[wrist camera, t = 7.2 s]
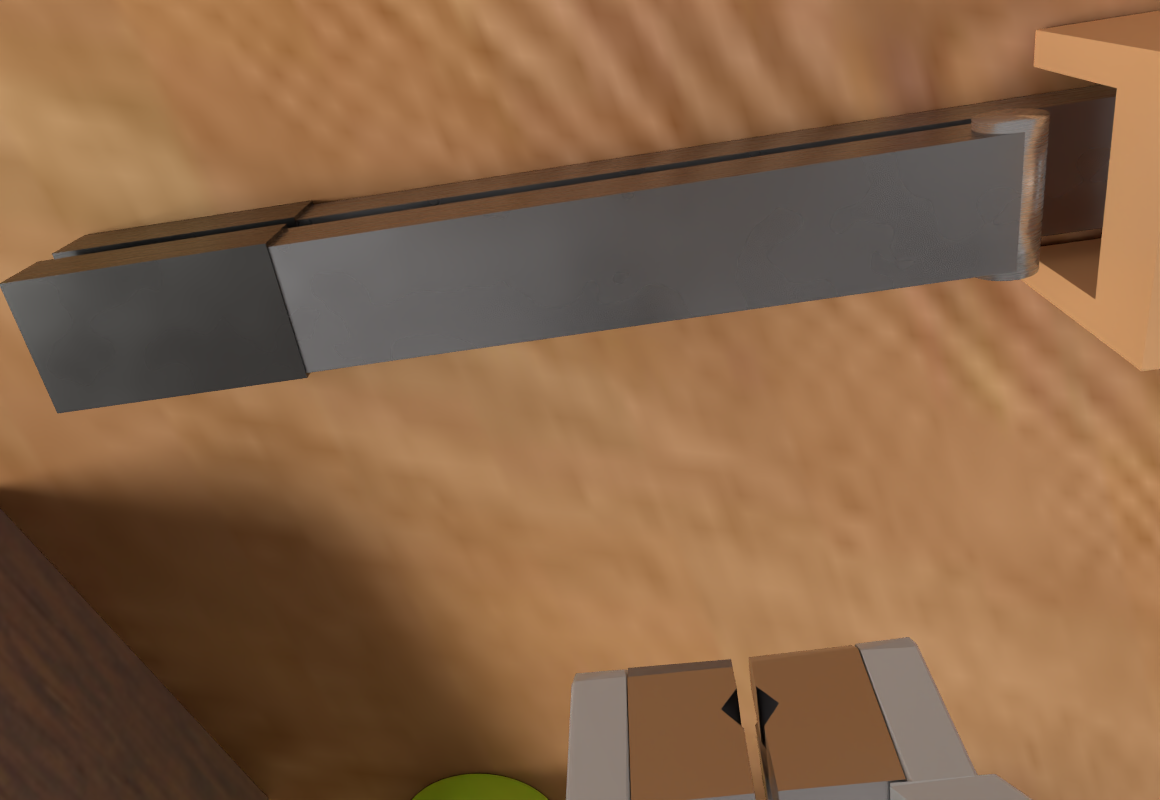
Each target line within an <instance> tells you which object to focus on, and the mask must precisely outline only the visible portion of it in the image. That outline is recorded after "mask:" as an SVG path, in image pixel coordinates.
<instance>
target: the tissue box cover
mask: <svg viewBox="0 0 1160 800" xmlns="http://www.w3.org/2000/svg"><path fill="white" fill-rule="evenodd" d="M0 800H268V798H267V797H266V796H265V794H264V793H263V792H262V791H261V790H260V789H259V788H258V787H257V786H256V785H255V784H254V783H253V781H252V780H251V779H250V778H249V777H248V776H247V775H246V774H245V773H244V772H243V771H242V770H241V768H240V767H239V766H238V765H237V764H236V763H235V762H234V761H233V760H232V759H231V758H230V757H229V755H228V754H227V753H226V752H225V751H224V750H223V749H222V748H221V747H220V746H219V745H218V744H217V742H216V741H215V740H214V739H213V738H212V737H211V736H210V735H209V734H208V733H207V732H206V731H205V729H204V728H203V727H202V726H201V725H200V724H199V723H198V722H197V721H196V720H195V719H194V718H193V716H192V715H191V714H190V713H189V712H188V711H187V710H186V709H185V708H184V707H183V706H182V705H181V704H180V702H179V701H178V700H177V699H176V698H175V697H174V696H173V695H172V694H171V693H170V692H169V691H168V689H167V688H166V687H165V686H164V685H163V684H162V683H161V682H160V681H159V680H158V679H157V678H156V676H155V675H154V674H153V673H152V672H151V671H150V670H149V669H148V668H147V667H146V666H145V665H144V663H143V662H142V661H141V660H140V659H139V658H138V657H137V656H136V655H135V654H134V653H133V652H132V650H131V649H130V648H129V647H128V646H127V645H126V644H125V643H124V642H123V641H122V640H121V639H120V637H119V636H118V635H117V634H116V633H115V632H114V631H113V630H112V629H111V628H110V627H109V626H108V625H107V623H106V622H105V621H104V620H103V619H102V618H101V617H100V616H99V615H98V614H97V613H96V612H95V610H94V609H93V608H92V607H91V606H90V605H89V604H88V603H87V602H86V601H85V600H84V599H83V597H82V596H81V595H80V594H79V593H78V592H77V591H76V590H75V589H74V588H73V587H72V586H71V584H70V583H69V582H68V581H67V580H66V579H65V578H64V577H63V576H62V575H61V574H60V573H59V571H58V570H57V569H56V568H55V567H54V566H53V565H52V564H51V563H50V562H49V561H48V560H47V559H46V557H45V556H44V555H43V554H42V553H41V552H40V551H39V550H38V549H37V548H36V547H35V546H34V544H33V543H32V542H31V541H30V540H29V539H28V538H27V537H26V536H25V535H24V534H23V533H22V531H21V530H20V529H19V528H18V527H17V526H16V525H15V524H14V523H13V522H12V521H11V520H10V518H9V517H8V516H7V515H6V514H5V513H4V512H3V511H2V510H1V509H0Z"/></svg>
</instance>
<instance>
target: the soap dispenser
mask: <svg viewBox="0 0 1160 800" xmlns="http://www.w3.org/2000/svg"><path fill="white" fill-rule="evenodd" d="M412 800H548V799H547V798H546V797H545V796H544V795H543V794H541V793H540V792H539V791H537V790H536V789H534V788H532V787H531V786H529V785H527V784H525V783H522V782H520V781H517V780H514V779H511V778H508V777H503V776H498V775H491V774H465V775H458V776H453V777H449V778H446V779H443V780H440V781H438V782H435V783H433V784H431V785H429V786H428V787H426V788H425V789H423V790H422V791H420V792H419V793H418V794H417V795H416V796H415V797H414V798H413V799H412Z"/></svg>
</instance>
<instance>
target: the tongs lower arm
mask: <svg viewBox="0 0 1160 800" xmlns="http://www.w3.org/2000/svg"><path fill="white" fill-rule="evenodd" d="M1116 92H1117V88H1114V87H1110V86H1106V85H1096V86H1090V87H1083V88H1077V89H1070V90H1063V91H1057V92H1050V93H1044V94H1037V95H1030V96H1024V97H1017V98H1011V99H1004V100H998V101H991V102H984V103H978V104H971V105H965V106H958V107H951V108H945V109H938V110H932V111H925V112H919V113H912V114H905V115H899V116H892V117H886V118H879V119H872V120H866V121H859V122H853V123H846V124H840V125H833V126H826V127H820V128H813V129H807V130H800V131H793V132H787V133H780V134H774V135H767V136H761V137H754V138H747V139H741V140H734V141H728V142H721V143H714V144H708V145H701V146H695V147H688V148H682V149H675V150H668V151H662V152H655V153H649V154H642V155H635V156H629V157H622V158H616V159H609V160H603V161H596V162H589V163H583V164H576V165H570V166H563V167H556V168H550V169H543V170H537V171H530V172H523V173H517V174H510V175H504V176H497V177H491V178H484V179H477V180H471V181H464V182H458V183H451V184H444V185H438V186H431V187H425V188H418V189H412V190H405V191H398V192H392V193H385V194H379V195H372V196H365V197H359V198H352V199H346V200H339V201H333V202H326V203H319V204H313V202H312V201H306V202H299V203H293V204H286V205H279V206H273V207H266V208H260V209H253V210H247V211H240V212H233V213H227V214H220V215H214V216H207V217H201V218H194V219H187V220H181V221H174V222H168V223H161V224H155V225H148V226H141V227H135V228H128V229H122V230H115V231H109V232H102V233H95V234H89V235H84V236H83V237H81V238H79V239H77V240H75V241H74V242H72V243H70V244H68V245H67V246H65V247H63V248H61V249H60V250H58V251H56V252H54V253H52V255H53V257H54V259H59V258H65V257H72V256H78V255H85V254H91V253H98V252H104V251H111V250H117V249H124V248H130V247H137V246H143V245H150V244H156V243H163V242H169V241H176V240H182V239H189V238H195V237H202V236H208V235H215V234H221V233H228V232H235V231H241V230H248V229H254V228H261V227H267V226H274V225H280V224H287V227H288V228H293V227H299V226H306V225H312V224H319V223H325V222H332V221H338V220H345V219H351V218H358V217H364V216H371V215H377V214H384V213H390V212H397V211H404V210H410V209H417V208H423V207H430V206H436V205H443V204H449V203H456V202H462V201H469V200H475V199H482V198H488V197H495V196H501V195H508V194H514V193H521V192H528V191H534V190H541V189H547V188H554V187H560V186H567V185H573V184H580V183H586V182H593V181H599V180H606V179H612V178H619V177H625V176H632V175H638V174H645V173H652V172H658V171H665V170H671V169H678V168H684V167H691V166H697V165H704V164H710V163H717V162H723V161H730V160H736V159H743V158H749V157H756V156H763V155H769V154H776V153H782V152H789V151H795V150H802V149H808V148H815V147H821V146H828V145H834V144H841V143H847V142H854V141H860V140H867V139H873V138H880V137H887V136H893V135H900V134H906V133H913V132H919V131H926V130H932V129H939V128H945V127H952V126H958V125H965V124H971V119H972V117H974V116H976V115H978V114H981V113H985V112H990V111H996V110H1003V109H1016V108H1034V109H1042V110H1046V111H1049V112H1050V120H1049V134H1048V148H1047V162H1046V176H1045V190H1044V204H1043V217H1042V231H1041V236H1048V235H1055V234H1062V233H1069V232H1076V231H1083V230H1090V229H1097V228H1103V220H1104V210H1105V200H1106V190H1107V180H1108V170H1109V161H1110V151H1111V141H1112V131H1113V121H1114V112H1115V102H1116Z"/></svg>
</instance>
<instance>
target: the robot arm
mask: <svg viewBox="0 0 1160 800" xmlns="http://www.w3.org/2000/svg"><path fill="white" fill-rule="evenodd" d="M749 671H750V681H751V690H752V695H753V701H754V706H755V711H756V717H757V723H756V725H755V727H756V734H757V742H758V749H759V757H760V765H761V772H762V780H763V786H764V791H765V797H766V800H1032V799H1031V798H1029V797H1028V796H1027V795H1025V794H1024V793H1022V792H1021V791H1019V790H1018V789H1017V788H1015V787H1014V786H1012V785H1011V784H1009V783H1008V782H1006V781H1005V780H1004V779H1002V778H1001V777H999V776H998V775H996V774H988V775H977V773H976V771H975V769H974V767H973V764H972V762H971V760H970V758H969V756H968V754H967V751H966V749H965V747H964V745H963V743H962V741H961V738H960V736H959V734H958V732H957V730H956V728H955V725H954V723H953V721H952V719H951V717H950V715H949V713H948V710H947V708H946V706H945V704H944V702H943V700H942V697H941V695H940V693H939V691H938V689H937V687H936V684H935V682H934V680H933V678H932V676H931V674H930V672H929V669H928V667H927V665H926V663H925V661H924V659H923V656H922V654H921V652H920V650H919V648H918V646H917V644H916V643H915V642H914V641H913V640H912V639H910V638H909V637H906V638H898V639H890V640H882V641H874V642H867V643H859V644H855V646H852V645H849V646H841V647H832V648H824V649H815V650H807V651H798V652H789V653H781V654H772V655H764V656H755V657H749ZM566 800H755V793H754V787H753V781H752V775H751V769H750V763H749V757H748V751H747V745H746V739H745V733H744V728H743V727H742V726H741V719H740V711H739V704H738V696H737V688H736V683H735V678H734V672H733V667H732V662H731V659H729V660H717V661H706V662H694V663H682V664H671V665H659V666H647V667H635V668H628V670H613V671H601V672H589V673H577V674H576V675H575V678H574V680H573V683H572V689H571V709H570V729H569V749H568V769H567V789H566Z"/></svg>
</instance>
